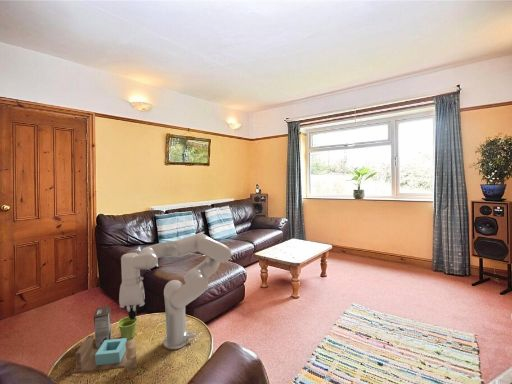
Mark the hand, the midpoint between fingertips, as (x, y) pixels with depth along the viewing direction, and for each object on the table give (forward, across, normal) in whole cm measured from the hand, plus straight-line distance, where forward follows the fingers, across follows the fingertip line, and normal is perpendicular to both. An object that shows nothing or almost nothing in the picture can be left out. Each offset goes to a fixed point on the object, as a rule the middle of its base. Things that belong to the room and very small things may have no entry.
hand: (132, 318), depth 120 cm
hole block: (+19, +10, 0) cm, 21 cm away
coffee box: (+19, +19, -14) cm, 30 cm away
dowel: (+18, -1, +8) cm, 20 cm away
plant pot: (+19, +7, -15) cm, 25 cm away
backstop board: (+19, +12, 0) cm, 22 cm away
